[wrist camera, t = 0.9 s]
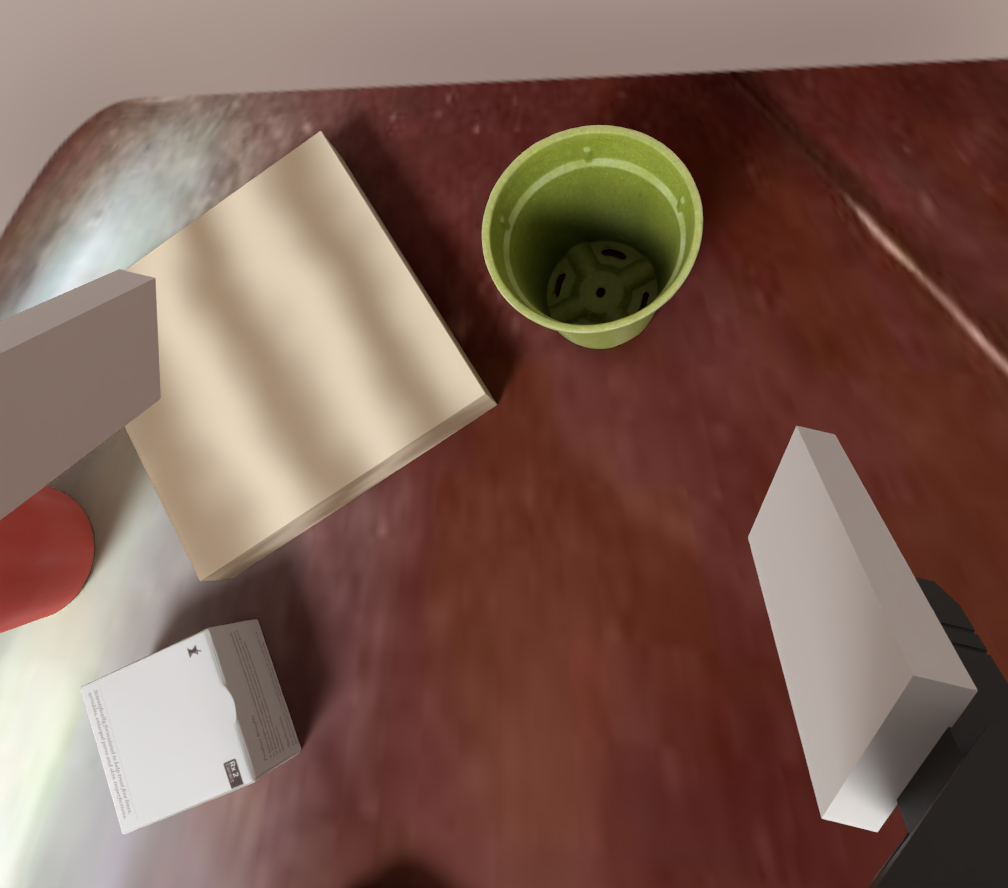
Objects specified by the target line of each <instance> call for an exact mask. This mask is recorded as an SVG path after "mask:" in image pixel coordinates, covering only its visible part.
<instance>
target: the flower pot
mask: <svg viewBox="0 0 1008 888" xmlns="http://www.w3.org/2000/svg"><path fill="white" fill-rule="evenodd" d="M93 558H94V535H93V531H92V527H91V523H90V521H89V519H88V517H87V515H86V513H85V511H84V510H83V509H82V507H81V506H80V505H79V504H78V503H77V502H76V501H75V500H74V499H72V498H71V497H70V496H68V495H66V494H65V493H63V492H61V491H58V490H56V489H53V488H50V487H47V486H45V487H43V488H42V489H41V490H40V491H38V492H37V493H36V494H34V495H33V496H32V497H30V498H29V499H28V500H26V501H25V502H24V503H22V504H21V505H20V506H18V507H17V508H16V509H14V510H13V511H12V512H10V513H9V514H8V515H6V516H5V517H4V518H3V519H1V520H0V633H2V632H5V631H7V630H10V629H13V628H16V627H19V626H22V625H24V624H27V623H30V622H32V621H35V620H38V619H41V618H44V617H47V616H50V615H52V614H54V613H56V612H58V611H59V610H61V609H63V608H64V607H65V606H67V605H68V604H69V603H70V602H71V601H72V600H73V599H74V598H75V597H76V596H77V594H78V593H79V592H80V590H81V589H82V587H83V585H84V583H85V581H86V579H87V577H88V575H89V573H90V570H91V567H92V563H93Z"/></svg>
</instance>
